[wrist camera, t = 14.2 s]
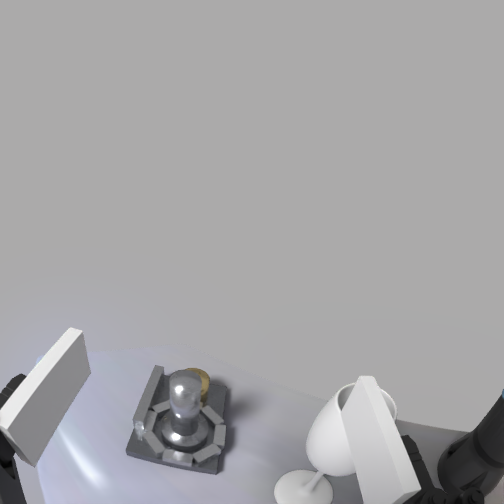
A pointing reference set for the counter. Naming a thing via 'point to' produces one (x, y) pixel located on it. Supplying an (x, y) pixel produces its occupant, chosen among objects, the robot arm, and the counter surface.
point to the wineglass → (324, 454)
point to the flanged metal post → (184, 413)
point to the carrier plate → (158, 404)
